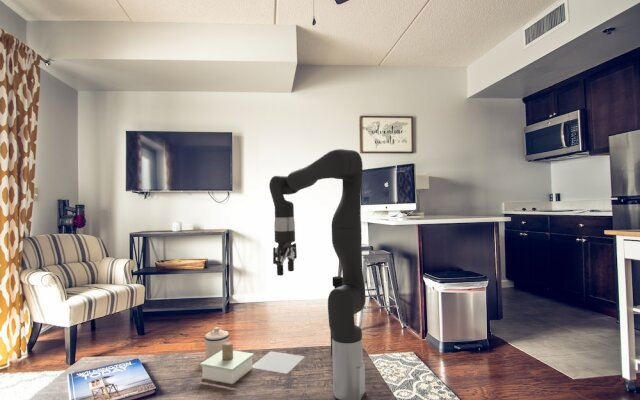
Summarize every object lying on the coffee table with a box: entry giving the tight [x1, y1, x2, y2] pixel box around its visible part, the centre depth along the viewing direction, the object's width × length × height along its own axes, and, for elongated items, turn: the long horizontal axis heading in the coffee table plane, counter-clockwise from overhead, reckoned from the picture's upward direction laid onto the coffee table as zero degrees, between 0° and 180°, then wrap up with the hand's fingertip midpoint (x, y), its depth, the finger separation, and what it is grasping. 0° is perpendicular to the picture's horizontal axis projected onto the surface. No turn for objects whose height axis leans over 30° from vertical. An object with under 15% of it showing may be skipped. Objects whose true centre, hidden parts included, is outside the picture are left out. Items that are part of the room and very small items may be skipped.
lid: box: [199, 341, 255, 372], centre depth 129 cm, size 13×13×6 cm
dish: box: [201, 357, 254, 385], centre depth 129 cm, size 12×12×5 cm
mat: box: [252, 351, 306, 375], centre depth 138 cm, size 15×15×1 cm
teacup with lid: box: [204, 326, 230, 360], centre depth 145 cm, size 12×9×12 cm
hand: (285, 273), depth 138 cm, fingers open, 8 cm apart
